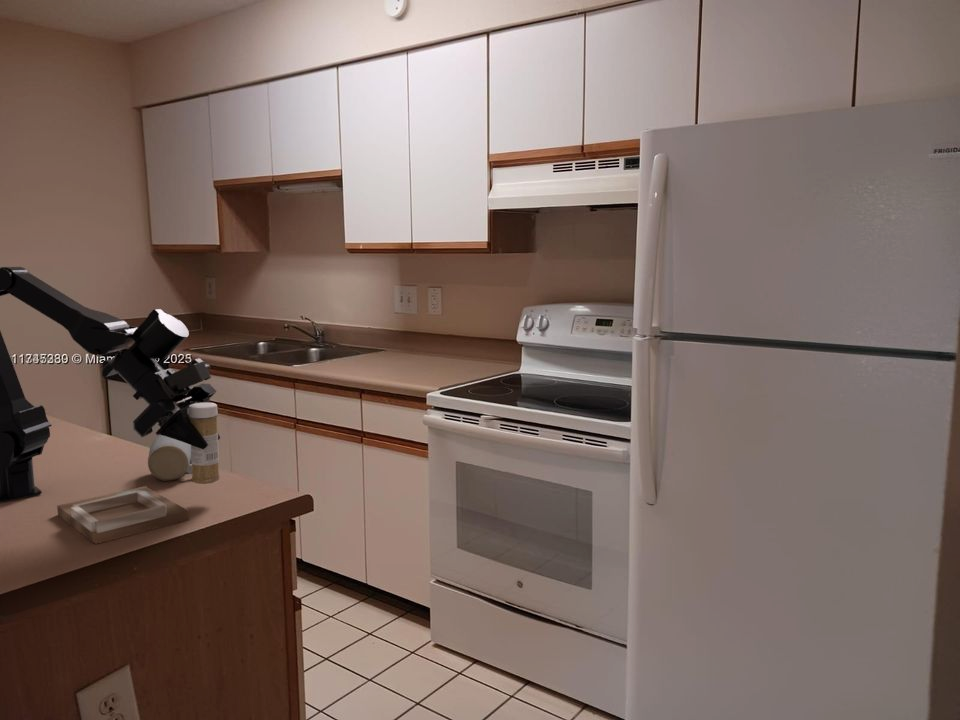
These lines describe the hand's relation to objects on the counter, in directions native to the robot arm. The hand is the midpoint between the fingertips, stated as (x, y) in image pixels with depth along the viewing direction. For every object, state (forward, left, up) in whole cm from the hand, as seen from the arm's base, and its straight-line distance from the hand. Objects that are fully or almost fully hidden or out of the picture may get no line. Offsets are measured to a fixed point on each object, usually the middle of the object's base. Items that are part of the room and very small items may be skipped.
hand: (212, 443), depth 122 cm
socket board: (-4, -14, -10) cm, 18 cm away
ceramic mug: (-19, +2, -11) cm, 22 cm away
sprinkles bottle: (-1, -1, -7) cm, 7 cm away
